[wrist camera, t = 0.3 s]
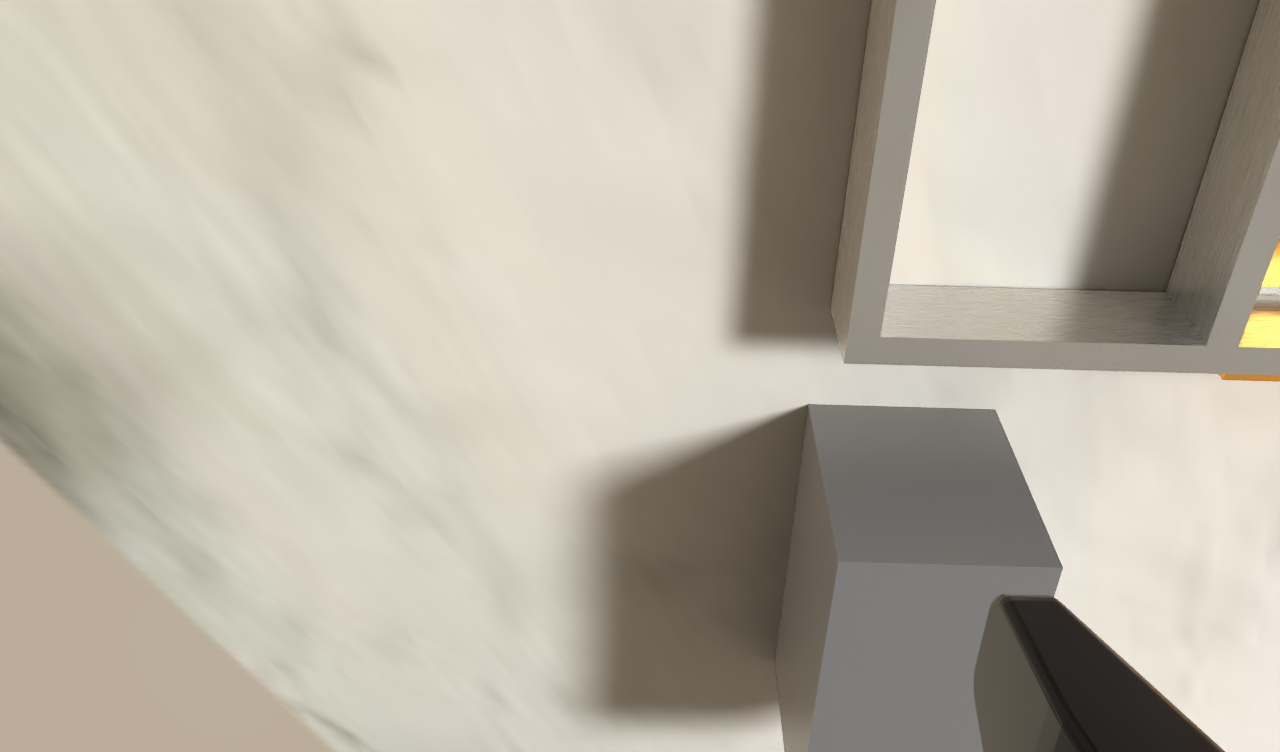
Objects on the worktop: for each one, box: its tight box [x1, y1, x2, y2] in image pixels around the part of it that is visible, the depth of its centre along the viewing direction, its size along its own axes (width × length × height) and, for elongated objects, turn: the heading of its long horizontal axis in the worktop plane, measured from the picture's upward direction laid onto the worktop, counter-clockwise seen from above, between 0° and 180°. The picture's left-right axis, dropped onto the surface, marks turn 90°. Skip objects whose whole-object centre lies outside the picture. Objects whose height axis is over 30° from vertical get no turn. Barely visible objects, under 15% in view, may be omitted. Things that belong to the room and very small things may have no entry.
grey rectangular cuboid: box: [775, 404, 1063, 752], centre depth 24 cm, size 8×4×5 cm, turn 179°
